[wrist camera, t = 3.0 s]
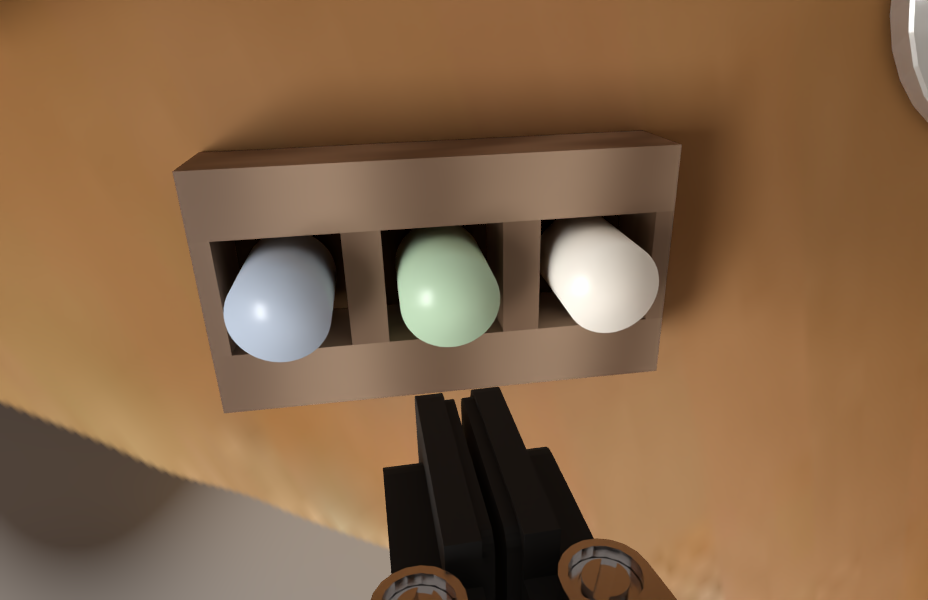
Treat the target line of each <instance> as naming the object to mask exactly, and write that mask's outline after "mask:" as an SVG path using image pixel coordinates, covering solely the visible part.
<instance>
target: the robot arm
mask: <svg viewBox="0 0 928 600" xmlns="http://www.w3.org/2000/svg"><path fill="white" fill-rule="evenodd" d="M890 24H891V41H892V52H893V55H894V59H895V63H896V67H897V71H898V75H899V79H900V81H901V83H902V85H903V87H904V89H905V91H906V93H907V95H908V97H909V99H910V101H911V103H912V105H913V106H914V107H915V109H916V110H917V111H918V112H919V113H920V114H921V115H922V116H923V118H924V119H925V120H926V121H927V122H928V0H891V9H890ZM415 411H416V425H417V440H418V455H419V463H417V464H409V465H401V466H394V467H386V468H383V474H384V487H385V499H386V512H387V524H388V536H389V549H390V560H391V573H392V574H391V575H390V576H389V577H388V578H386V579H385V580H383V581H382V582H381V583H380V585H379V586H378V587H377V589H376V590H375V591H374V593H373V595H372V598H371V600H677V599H676V598H675V597H674V595H673V594H672V593H671V591H670V590H669V589H668V588H667V586H666V585H665V584H664V582H663V581H662V580H661V579H660V577H659V576H658V575H657V574H656V572H655V571H654V570H653V568H652V567H651V566H650V565H649V563H648V562H647V561H646V560H645V559H644V558H643V557H642V556H641V555H640V554H639V553H638V552H637V551H635V550H633V549H632V548H630V547H628V546H627V545H625V544H622V543H619V542H616V541H613V540H607V539H594V538H593V536H592V534H591V532H590V530H589V528H588V526H587V524H586V522H585V520H584V518H583V516H582V514H581V512H580V510H579V507H578V505H577V503H576V501H575V499H574V497H573V495H572V493H571V491H570V489H569V487H568V485H567V483H566V481H565V479H564V477H563V475H562V473H561V471H560V469H559V467H558V465H557V463H556V461H555V459H554V457H553V455H552V453H551V451H550V450H549V448H547V447H540V448H533V449H526V447H525V445H524V443H523V441H522V438H521V436H520V434H519V431H518V429H517V427H516V424H515V422H514V420H513V418H512V415H511V413H510V411H509V408H508V406H507V404H506V401H505V399H504V397H503V395H502V392H501V390H500V388H499V387H492V388H483V389H474V390H471V395H470V397H468V398H462V399H461V412H462V425H461V421H460V418H459V415H458V411H457V408H456V404H455V401H454V399H451V400H444V397H443V394H442V393H439V394H430V395H421V396H415Z"/></svg>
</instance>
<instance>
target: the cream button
mask: <svg viewBox="0 0 928 600" xmlns="http://www.w3.org/2000/svg"><path fill="white" fill-rule="evenodd" d="M540 273H541V275H542V276H543V278H544V279H545V280H546V282H547V283H548V285H549V286H550V287H551V289H552V290H553V292H554V293H555V294H556V296H557V297H558V299H559V300H560V301H561V303H562V304H563V306H564V307H565V308H566V310H567V311H568V312H569V314H570V315H571V317H572V318H573V319H574V320H575V321H576V323H578V324H579V325H580V326H582V327H583V328H585V329H587V330H590V331H593V332H597V333H611V332H617V331H620V330H623V329H626V328H628V327H630V326H631V325H633V324H635V323H636V322H637V321H639V320H640V319H641V318H642V317H643V316H644V315H645V314H646V313H647V312H648V310H649V309H650V308H651V306H652V304H653V302H654V300H655V298H656V295H657V292H658V287H659V275H658V270H657V267H656V265H655V262H654V261H653V259H652V258H651V257H650V255H649V254H648V253H647V252H645V251H644V250H643V249H642V248H641V247H639V246H638V245H637V244H636V243H634V242H633V241H632V240H630V239H629V238H628V237H627V236H625V235H624V234H623V233H622V232H620V231H619V230H618V229H617V228H615V227H614V226H613V225H611V224H610V223H609V222H608V221H606V220H605V219H604V218H602V217H601V216H591V217H576V218H561V219H557V220H555V221H554V222H553V223H552V224H551V225H549V227H548V228H547V229H546V230H545V231H544V233H543V234H542V236H541V238H540Z"/></svg>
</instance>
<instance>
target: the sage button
mask: <svg viewBox="0 0 928 600" xmlns="http://www.w3.org/2000/svg"><path fill="white" fill-rule="evenodd" d="M395 268H396V276H397V285H398V293H399V301H400V309H401V314H402V317H403V320H404V322H405V324H406V326H407V327H408V329H409V330H410V331H411V332H412V333H413V334H414V335H415V336H416V337H417V338H419V339H420V340H422V341H424V342H426V343H428V344H431V345H434V346H439V347H456V346H461V345H464V344H467V343H470V342H472V341H474V340H475V339H477V338H478V337H480V336H481V335H483V334H484V333H485V332H486V331H487V330H488V329H489V327H490V326H491V325H492V323H493V322H494V320H495V318H496V316H497V313H498V310H499V306H500V291H499V286H498V284H497V281H496V279H495V277H494V275H493V273H492V271H491V269H490V268H489V266H488V264H487V262H486V260H485V258H484V256H483V254H482V252H481V250H480V248H479V246H478V244H477V243H476V241H475V239H474V238H473V236H472V235H471V234H470V233H469V232H468V231H467V230H465V229H464V228H463V227H461V226H459V225H455V226H440V227H425V228H414V229H413V230H411V231H410V232H409V233H408V234H407V235H406V236H405V237H404V238H403V240H402V241H401V243H400V245H399V247H398V249H397V253H396V258H395Z"/></svg>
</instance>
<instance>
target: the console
mask: <svg viewBox="0 0 928 600" xmlns="http://www.w3.org/2000/svg"><path fill="white" fill-rule="evenodd" d="M681 147H682V144H679V143H676V142H673V141H670V140H668V139H665V138H662V137H659V136H657V135H654V134H651V133H648V132H646V131H643V130H641V131H621V132H601V133H581V134H561V135H540V136H520V137H500V138H480V139H460V140H440V141H420V142H400V143H380V144H360V145H340V146H320V147H299V148H279V149H259V150H239V151H219V152H199V153H198V154H196V155H195V156H193V157H192V158H191V159H189V160H188V161H186V162H185V163H184V164H182V165H181V166H180V167H178V168H177V169H175V170H174V171H173V176H174V181H175V185H176V190H177V195H178V200H179V204H180V209H181V214H182V218H183V223H184V228H185V232H186V237H187V242H188V246H189V251H190V256H191V260H192V265H193V270H194V274H195V279H196V284H197V288H198V293H199V298H200V302H201V307H202V312H203V317H204V321H205V326H206V331H207V335H208V340H209V345H210V349H211V354H212V359H213V363H214V368H215V373H216V377H217V382H218V387H219V391H220V396H221V401H222V405H223V410H224V413H232V412H242V411H252V410H263V409H273V408H283V407H293V406H303V405H313V404H323V403H334V402H344V401H354V400H364V399H374V398H384V397H394V396H405V395H415V394H425V393H435V392H445V391H455V390H465V389H475V388H486V387H496V386H506V385H516V384H526V383H536V382H546V381H557V380H567V379H577V378H587V377H597V376H607V375H617V374H628V373H638V372H648V371H656V369H657V360H658V351H659V342H660V334H661V325H662V316H663V307H664V298H665V289H666V280H667V271H668V263H669V254H670V245H671V236H672V227H673V218H674V209H675V200H676V192H677V183H678V174H679V165H680V156H681ZM606 215H620V219H619V231H620V232H622V233H623V234H624V235H625V236H627V237H628V238H629V239H630V240H632V241H633V242H634V243H636V244H637V245H638V246H639V247H641V248H642V249H643V250H644V251H645V252H647V253H648V254H649V255H650V257H651V258H652V259H653V261H654V262H655V265H656V267H657V270H658V275H659V287H658V292H657V295H656V298H655V300H654V302H653V304H652V306H651V308H650V309H649V310H648V312H647V313H646V314H645V315H644V316H643V317H642V318H641V319H640V320H639V321H637V322H636V323H635V324H633V325H631V326H630V327H628V328H626V329H623V330H620V331H617V332H611V333H597V332H593V331H590V330H587V329H585V328H583V327H582V326H580V325H579V324H578V323H576V321H575V320H574V319H573V318H572V317H571V315H570V314H569V312H568V311H567V310H566V308H565V307H564V306H563V304H562V303H561V301H560V300H559V299H558V297H557V296H556V294H555V293H554V292H543V293H539V279H540V238H541V220H546V219H561V218H576V217H591V216H606ZM485 223H487V264H488V266H489V268H490V269H491V271H492V273H493V275H494V277H495V279H496V281H497V284H498V286H499V291H500V306H499V310H498V313H497V316H496V318H495V320H494V322H493V323H492V325H491V326H490V327H489V329H488V330H487V331H486V332H485V333H484V334H483V335H481V336H480V337H478V338H477V339H475V340H474V341H472V342H470V343H467V344H464V345H461V346H456V347H439V346H434V345H431V344H428V343H426V342H424V341H422V340H420V339H419V338H417V337H416V336H415V335H414V334H413V333H412V332H411V331H410V330H409V329H408V327H407V326H406V324H405V322H404V320H403V317H402V314H401V309H400V304H395V305H387V301H386V289H385V277H384V265H383V252H382V240H381V230H395V229H410V228H425V227H440V226H455V225H470V224H485ZM335 233H340V235H341V244H342V254H343V263H344V272H345V281H346V290H347V299H348V308H346V309H333V311H332V319H331V326H330V330H329V332H328V335H327V337H326V338H325V340H324V342H323V343H322V344H321V345H320V346H319V347H318V348H317V349H316V350H315V351H314V352H312V353H311V354H309V355H307V356H305V357H303V358H301V359H298V360H294V361H289V362H271V361H266V360H262V359H259V358H257V357H254V356H252V355H250V354H249V353H247V352H245V351H244V350H243V349H241V348H240V347H239V346H238V345H237V344H236V343H235V341H234V340H233V339H232V338H231V336H230V334H229V333H228V330H227V328H226V325H225V321H224V304H225V300H226V297H227V295H228V293H229V291H230V289H231V287H232V285H233V283H234V282H235V280H236V278H237V276H238V274H239V272H240V269H239V263H238V258H237V252H236V247H235V241H234V240H245V239H260V238H275V237H290V236H305V235H320V234H335Z"/></svg>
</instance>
